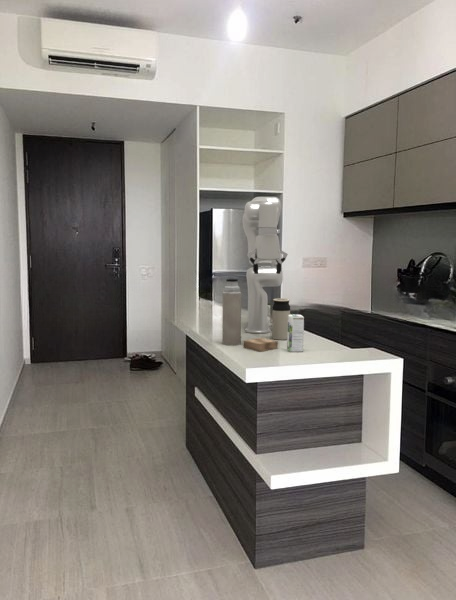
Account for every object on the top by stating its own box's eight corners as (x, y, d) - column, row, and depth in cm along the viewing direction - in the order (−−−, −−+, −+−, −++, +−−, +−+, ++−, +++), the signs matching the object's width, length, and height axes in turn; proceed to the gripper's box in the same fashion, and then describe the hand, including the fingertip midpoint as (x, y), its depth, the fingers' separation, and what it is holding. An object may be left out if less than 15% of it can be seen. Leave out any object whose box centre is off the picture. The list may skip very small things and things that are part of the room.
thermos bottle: (226, 341, 236) (226, 278, 233) (243, 342, 233) (243, 278, 230) (219, 344, 228) (220, 279, 225) (237, 345, 226) (238, 279, 223)
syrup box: (286, 349, 220) (287, 314, 218) (300, 349, 220) (301, 314, 219) (289, 352, 214) (289, 316, 212) (303, 351, 215) (304, 316, 213)
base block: (261, 344, 228) (261, 337, 228) (277, 348, 221) (277, 341, 220) (243, 347, 222) (243, 340, 222) (259, 351, 214) (259, 344, 214)
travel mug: (293, 339, 242) (293, 299, 239) (278, 340, 237) (279, 300, 235) (282, 336, 248) (283, 297, 246) (268, 337, 244) (269, 298, 242)
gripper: (284, 233, 227) (283, 273, 229) (245, 232, 223) (244, 273, 225) (290, 232, 220) (289, 273, 221) (250, 231, 216) (249, 274, 217)
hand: (267, 273), depth 223 cm, fingers open, 9 cm apart
